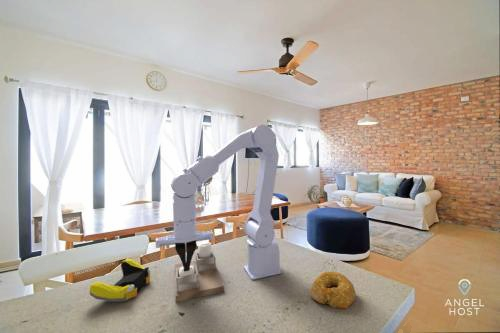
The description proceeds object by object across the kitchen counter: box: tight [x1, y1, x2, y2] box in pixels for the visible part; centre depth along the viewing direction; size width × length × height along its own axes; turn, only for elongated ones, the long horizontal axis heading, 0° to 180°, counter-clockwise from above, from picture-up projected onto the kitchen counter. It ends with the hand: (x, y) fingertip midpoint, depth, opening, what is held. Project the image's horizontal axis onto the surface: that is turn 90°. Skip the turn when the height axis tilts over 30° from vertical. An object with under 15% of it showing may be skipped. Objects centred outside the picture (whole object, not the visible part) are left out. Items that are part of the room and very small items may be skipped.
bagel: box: [309, 271, 356, 309], centre depth 55 cm, size 10×11×5 cm
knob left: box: [179, 266, 195, 277], centre depth 59 cm, size 4×4×4 cm
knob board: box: [174, 250, 225, 303], centre depth 63 cm, size 12×17×5 cm
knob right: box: [197, 241, 212, 259], centre depth 68 cm, size 4×4×4 cm
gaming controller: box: [89, 258, 152, 303], centre depth 59 cm, size 15×6×10 cm
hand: (186, 269), depth 58 cm, fingers closed, pressing on knob left
